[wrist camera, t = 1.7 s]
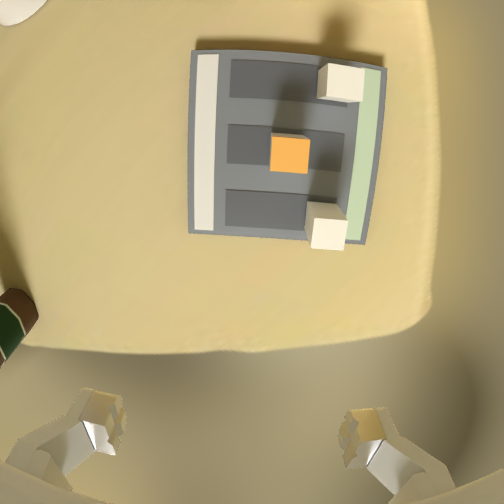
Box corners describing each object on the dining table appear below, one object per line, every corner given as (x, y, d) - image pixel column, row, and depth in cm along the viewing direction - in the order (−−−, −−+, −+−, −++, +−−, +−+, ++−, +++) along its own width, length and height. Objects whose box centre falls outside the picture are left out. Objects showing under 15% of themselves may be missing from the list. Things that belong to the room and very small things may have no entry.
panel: (194, 52, 27) (191, 50, 25) (382, 69, 27) (387, 67, 25) (191, 228, 35) (188, 233, 34) (361, 239, 35) (365, 245, 33)
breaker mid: (271, 132, 28) (272, 136, 24) (303, 135, 28) (310, 139, 24) (269, 161, 30) (269, 171, 25) (300, 163, 30) (307, 173, 25)
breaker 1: (318, 70, 26) (328, 63, 21) (349, 75, 26) (364, 69, 21) (316, 98, 27) (326, 96, 22) (347, 102, 27) (362, 101, 22)
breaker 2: (307, 201, 31) (314, 217, 27) (336, 203, 31) (348, 220, 27) (304, 227, 32) (310, 248, 28) (332, 229, 32) (343, 250, 28)
